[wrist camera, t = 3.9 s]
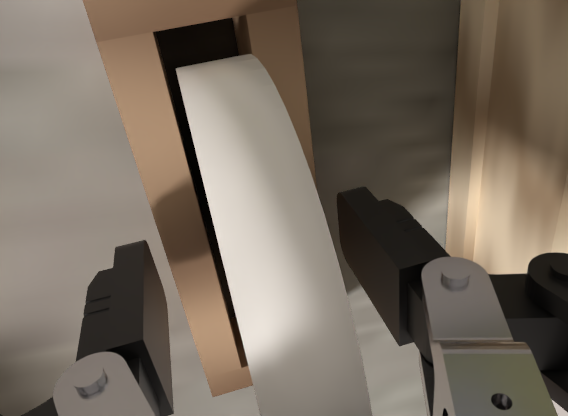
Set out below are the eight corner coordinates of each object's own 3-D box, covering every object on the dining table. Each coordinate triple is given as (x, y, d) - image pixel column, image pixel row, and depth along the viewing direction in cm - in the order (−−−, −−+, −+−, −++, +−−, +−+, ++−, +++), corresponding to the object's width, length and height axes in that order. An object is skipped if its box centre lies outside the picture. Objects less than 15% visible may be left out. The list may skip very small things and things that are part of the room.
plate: (236, 308, 18) (315, 634, 9) (167, 32, 13) (205, 197, 4) (274, 297, 18) (386, 607, 10) (221, 22, 13) (360, 159, 5)
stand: (91, -19, 12) (80, -8, 10) (267, -47, 12) (292, -44, 10) (205, 344, 18) (212, 397, 16) (314, 313, 19) (335, 360, 17)
